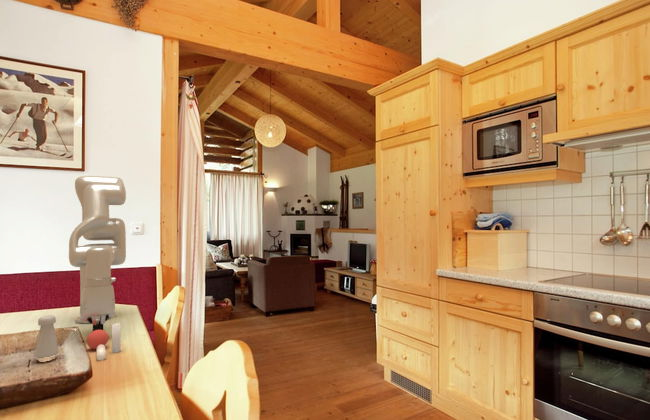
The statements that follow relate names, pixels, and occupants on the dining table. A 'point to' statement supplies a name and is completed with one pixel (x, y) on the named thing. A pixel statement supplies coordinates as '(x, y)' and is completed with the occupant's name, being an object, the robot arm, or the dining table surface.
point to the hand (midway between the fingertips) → (97, 335)
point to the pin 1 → (101, 352)
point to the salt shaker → (46, 338)
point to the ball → (97, 338)
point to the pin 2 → (116, 337)
